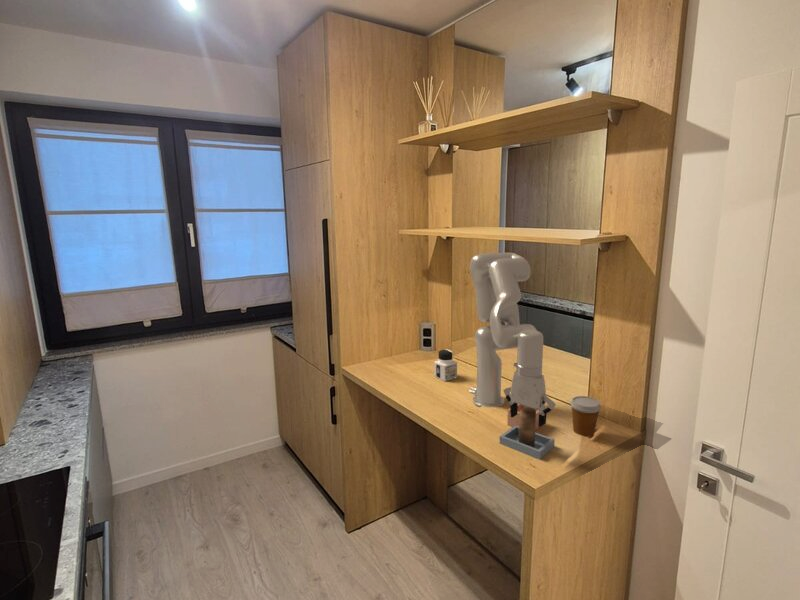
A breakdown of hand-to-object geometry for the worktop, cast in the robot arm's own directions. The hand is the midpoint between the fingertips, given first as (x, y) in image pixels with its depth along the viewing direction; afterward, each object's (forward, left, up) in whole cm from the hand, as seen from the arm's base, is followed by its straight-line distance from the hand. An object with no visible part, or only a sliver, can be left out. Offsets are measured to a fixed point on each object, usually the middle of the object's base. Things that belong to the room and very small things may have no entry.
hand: (527, 420), depth 138 cm
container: (-58, +31, -10) cm, 66 cm away
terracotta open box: (-7, +12, -10) cm, 17 cm away
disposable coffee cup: (+10, +21, -10) cm, 25 cm away
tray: (0, 0, -10) cm, 10 cm away
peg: (0, 0, -9) cm, 9 cm away
